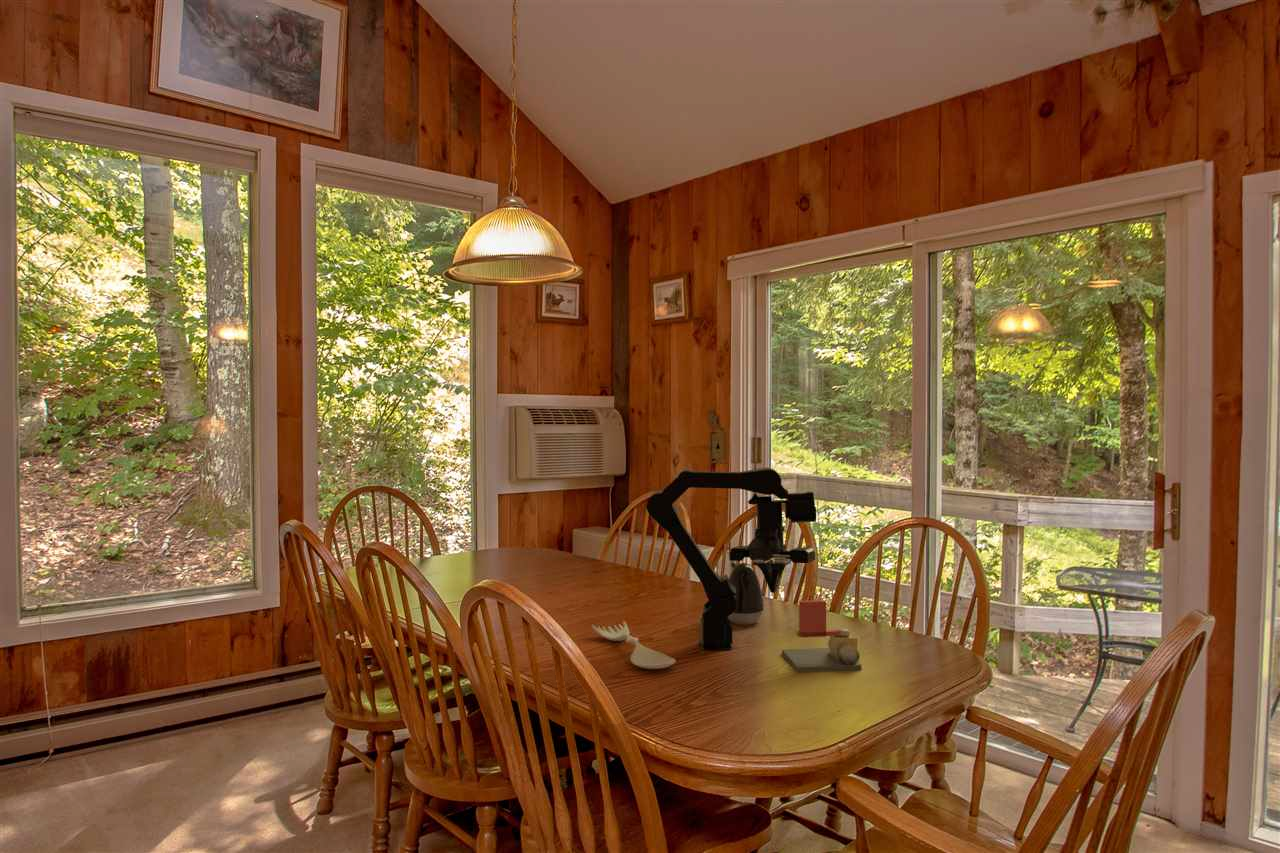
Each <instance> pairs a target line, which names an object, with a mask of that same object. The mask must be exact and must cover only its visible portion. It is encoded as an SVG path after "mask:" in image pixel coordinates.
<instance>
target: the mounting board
mask: <svg viewBox="0 0 1280 853" xmlns="http://www.w3.org/2000/svg"><path fill="white" fill-rule="evenodd" d="M781 655H782V657H783V658H785V659H786V660H787V661H788V662H789V664H790V665H791V666H792V667H793V668H794V670H796V672H797V673H809V672H810V671H815V672H833V671H835V672H836V671H860V670H862V664H861V663H860V662H859V661H858V662H857V663H856V664H854V665H847V664H846V663H845V662H836V661H835V660H834V659H833V658H832V657H831V656H830V649H829V647H815V648H792V649H789V648H786V649H781Z"/></svg>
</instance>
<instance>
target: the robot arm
mask: <svg viewBox="0 0 1280 853" xmlns="http://www.w3.org/2000/svg"><path fill="white" fill-rule="evenodd" d="M690 488H693V489H694V488H695V489H696V488H698V489H699V488H701V489H702V488H703V489H734V490H735V489H736V490H737V489H738V490H744V491H747V492H751V493H753V495H752V496H751V498H750V499H748V501H747V503H748V504H749V505H756V507H755V508H756V522H757V523H756V524H757V525H756V527H757V528H755V531H754V534H755V535H754V538H752V540H751V541H750V542H749V544H748V545H738V546H734V547H732V548H730V549H729V553H728V557H729V561H730V562H742V561H743V560H744V559H745V558H749V559H750V560H751V561H753V562H752V565H753V566H756V567H758V568H759V569H760V570H761V573H762V575H763V577H764V579H765V581H766V584H767V586H768V589H769V591H770V593H772V594H775V593H776V592H777V590H778V589H777V588H778V587H779V583H780V580H781V577H782V574H783V573H784V570H785V569H786V566H787V565H789V564H791V563H793V564H808V563H811V562H813V561H815V560H816V552H815V549H814V548H812V547H805V546H804V547H803V546H802V547H795V548H791V549H790V550H786V547H787V546H786V544H784V532H785V531H786V528H785V526H784V524H783V508H784V517H785V519H788V520H789V521H790V524H794V523H795V524H796V523H816V522H817V507H816V503H815V497H814V496H815V495H814V494H815V493H814V492H813V491H805V492H794V493H793V492H792V493H790V492H789V490H788V489H787V488H784V486H783V485H782V477H781V476H780V474H779V473H778V472H777V471H776V470H775V469H774V468H772V467H761V468H753V469H750V470H749V469H748V470H745V471H714V470H713V471H711V470H710V471H709V470H690V469H683V470H682V471H680V473H678V475H677V477H675V478H674V479H673V481H671V482H670V483H669V484H668V485H667V486H666V487H665V488H664V489H663V490H658V491H654V493H652V494H651V495H650V496H649V498H648V499H647V501H646V511H647V513H648V514H649V515H650V516H651V518H653V519H654V521H655V522H656V523H657V524H658V525H659V526H660V527H661V528H662V529H664V530H665V531H666V532H667V533H668V534H669V536H670V537H671V539H672V540H673V542H674V543H675V545H676V547H677V548H678V549H679V551H680V552H681V554H682V555H683V557H684V558H685V560H686V561H687V563H688V564H689V566H690V567H691V569H692V571H693V572H694V573H695V575H696V577H697V578H698V579H699V581H700V582H701V584H702V586H703V591H704V592H705V594H706V597H707V601H706V602H705V603H704V604H703V606H702V614H701V617H700V639H699V644H700V646H701V647H702V650H705V651H709V650H711V651H712V650H715V651H716V650H717V651H718V650H731V649H733V647H732V645H733V626H732V624H731V621H730V620H729V618H728V616H729V615H731V614H732V613H733V612H734V611H735V609H736V606H737V600H736V587H734V586H733V585H732V584H731V583H730V581H729V577H728V575H727V574H726V573H725V574H724V575H723V576H721V575H719V574H718V573H717V572H716V571H715V570H714V568H713V566H712V565H711V563H710V562H709V561H708V559H707V558H706V556H705V554H704V553H703V551H702V550H701V548H700V546H699V545H698V544H697V542H696V541H695V539H694V538H693V536H692V535H691V533H690V532H689V531H688V529H687V528H686V525H685V524H684V523H683V521H682V518H681V515H680V513H679V510H678V507H677V505H676V501H677V500H678V499H679V498H680V497H681V496H682V495H683V494H685V492H686V491H688V489H690ZM758 494H760V495H761V494H762V496H758ZM763 495H765V496H763ZM771 495H774V496H775V497H777V498H779V499H777V500H776V499H775V500H772V499H773V498H772V496H771ZM783 505H784V507H783Z"/></svg>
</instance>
